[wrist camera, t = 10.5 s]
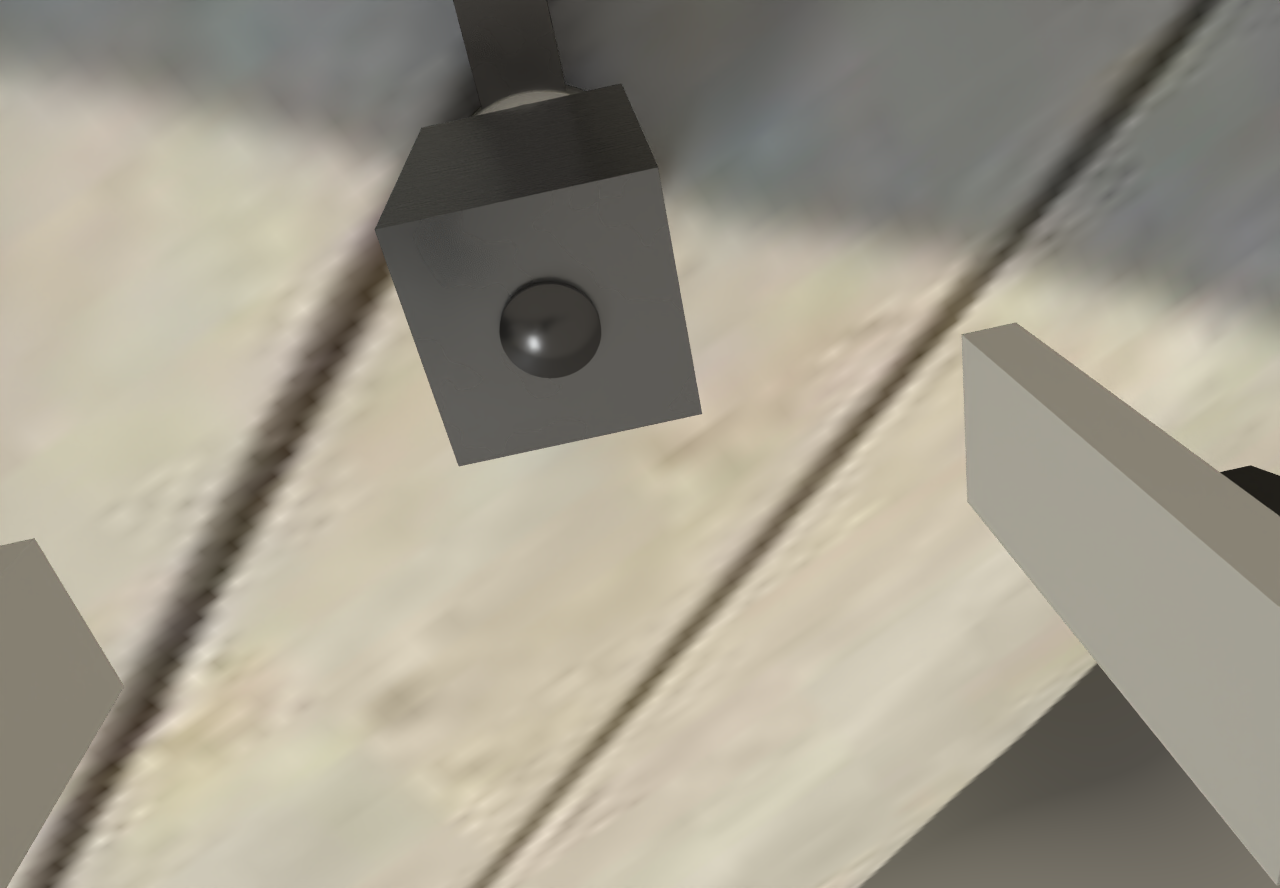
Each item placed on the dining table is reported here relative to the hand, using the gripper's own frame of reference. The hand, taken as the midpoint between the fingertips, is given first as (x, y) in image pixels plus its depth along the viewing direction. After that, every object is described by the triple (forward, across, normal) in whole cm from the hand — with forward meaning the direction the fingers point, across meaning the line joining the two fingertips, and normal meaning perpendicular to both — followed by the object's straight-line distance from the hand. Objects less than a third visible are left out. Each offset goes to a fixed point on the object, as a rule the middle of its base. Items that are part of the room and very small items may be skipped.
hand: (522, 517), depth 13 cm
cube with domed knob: (+20, 0, 0) cm, 20 cm away
